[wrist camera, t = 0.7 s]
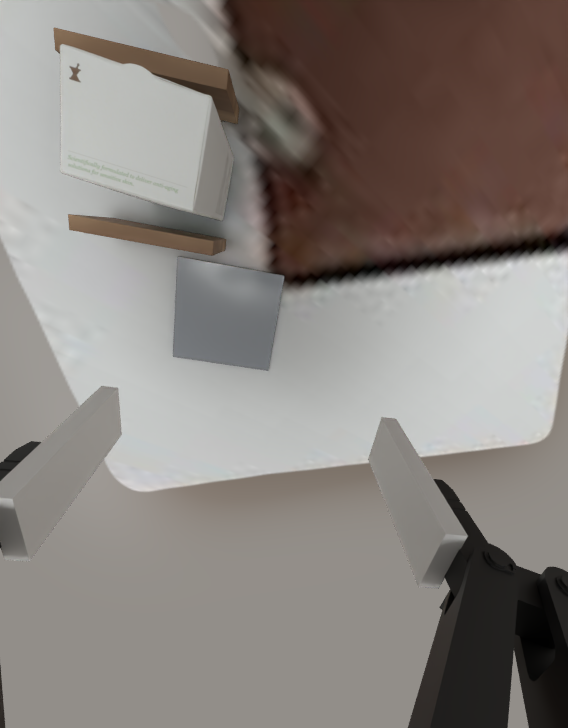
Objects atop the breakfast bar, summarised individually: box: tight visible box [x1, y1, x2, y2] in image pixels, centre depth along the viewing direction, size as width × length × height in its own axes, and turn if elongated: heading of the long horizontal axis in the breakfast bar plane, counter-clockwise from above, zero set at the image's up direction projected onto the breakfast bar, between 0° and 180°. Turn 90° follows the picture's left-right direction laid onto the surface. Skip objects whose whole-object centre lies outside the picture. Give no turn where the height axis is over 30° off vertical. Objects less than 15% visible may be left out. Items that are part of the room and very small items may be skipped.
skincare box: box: [60, 44, 234, 221], centre depth 25 cm, size 8×7×16 cm
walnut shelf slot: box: [54, 28, 239, 256], centre depth 28 cm, size 13×12×8 cm
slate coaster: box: [173, 256, 284, 371], centre depth 38 cm, size 12×12×1 cm
